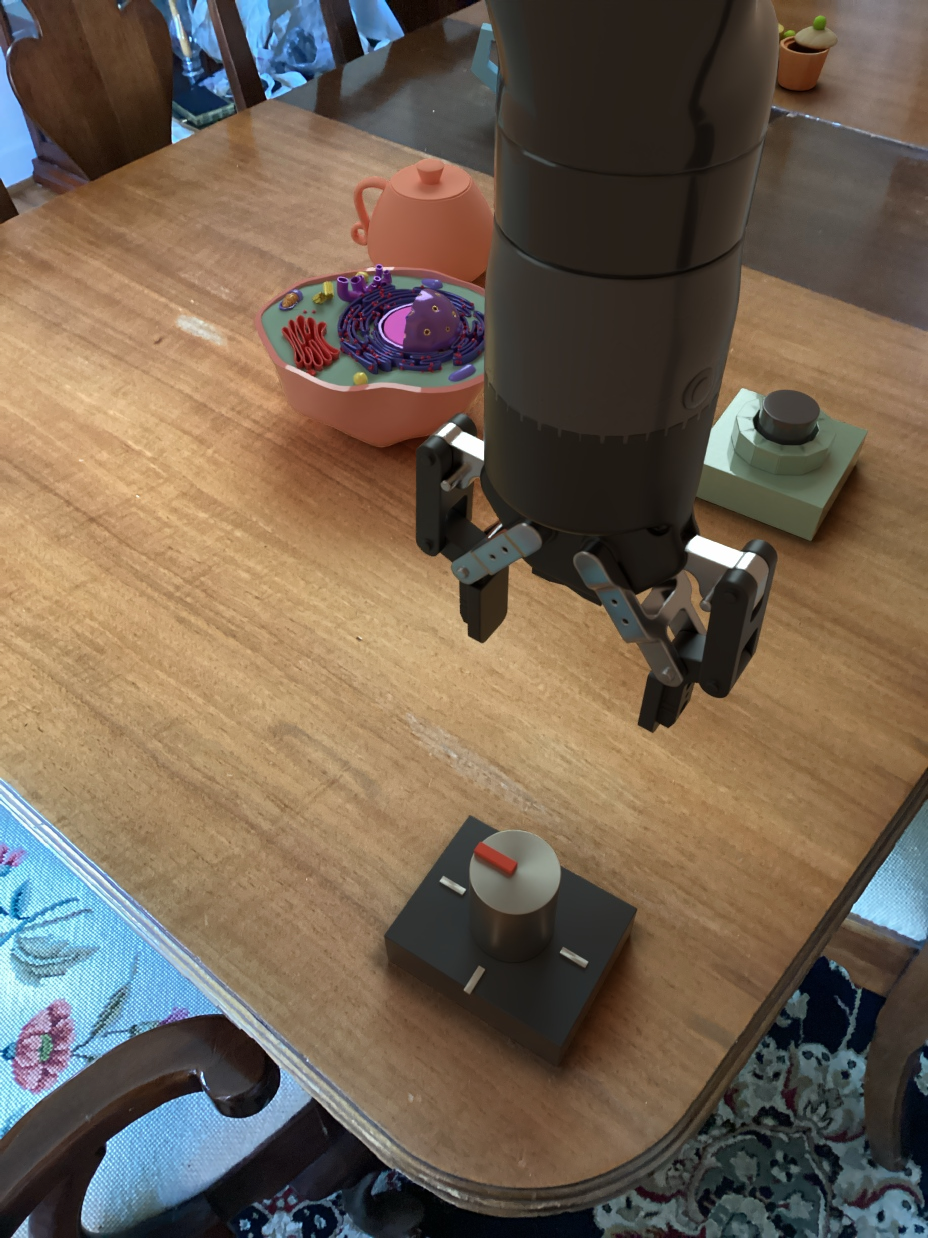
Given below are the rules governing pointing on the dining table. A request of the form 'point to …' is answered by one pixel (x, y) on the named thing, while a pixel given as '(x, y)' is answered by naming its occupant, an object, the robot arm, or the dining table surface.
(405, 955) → the panel
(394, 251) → the sugar bowl
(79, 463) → the dining table surface
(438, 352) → the cell model
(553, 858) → the knob
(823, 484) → the button base
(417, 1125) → the dining table surface
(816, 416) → the button
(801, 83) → the toy tea set
